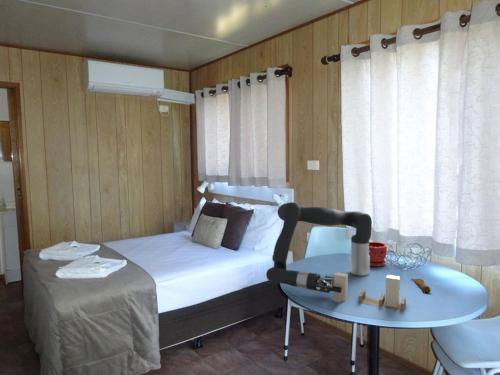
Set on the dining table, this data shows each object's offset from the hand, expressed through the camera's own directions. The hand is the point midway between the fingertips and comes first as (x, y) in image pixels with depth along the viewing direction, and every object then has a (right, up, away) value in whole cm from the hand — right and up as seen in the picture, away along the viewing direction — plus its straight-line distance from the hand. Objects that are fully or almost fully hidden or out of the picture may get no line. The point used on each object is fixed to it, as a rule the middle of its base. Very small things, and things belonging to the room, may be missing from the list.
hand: (343, 286), depth 156 cm
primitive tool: (+42, -5, +19) cm, 47 cm away
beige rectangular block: (-1, -7, +1) cm, 7 cm away
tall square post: (+19, -6, -6) cm, 20 cm away
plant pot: (+32, -2, +55) cm, 63 cm away
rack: (+15, -7, -4) cm, 17 cm away
